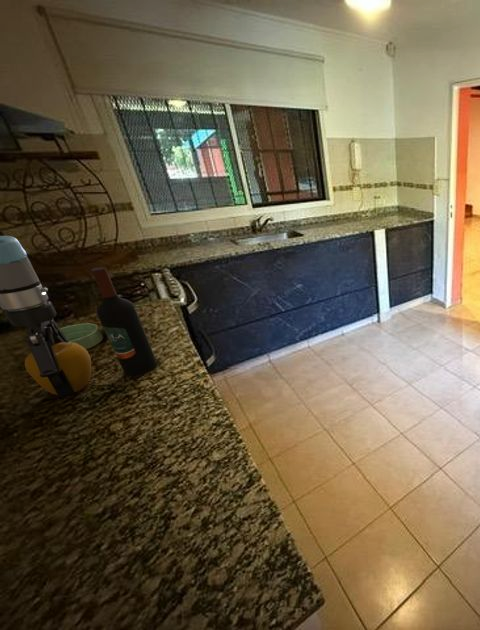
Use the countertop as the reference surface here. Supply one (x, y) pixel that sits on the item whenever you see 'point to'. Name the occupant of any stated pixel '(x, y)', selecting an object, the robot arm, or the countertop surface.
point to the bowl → (83, 334)
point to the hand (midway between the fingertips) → (70, 382)
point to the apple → (65, 366)
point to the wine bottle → (123, 328)
